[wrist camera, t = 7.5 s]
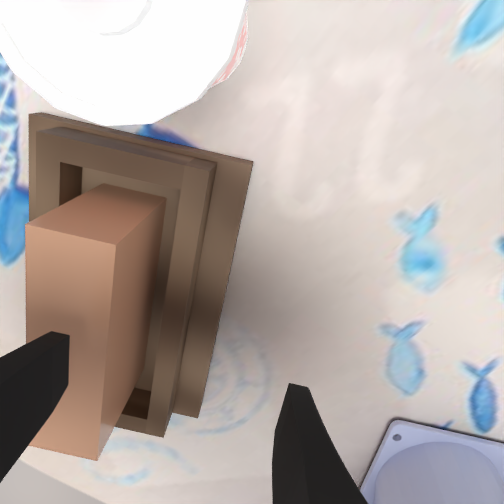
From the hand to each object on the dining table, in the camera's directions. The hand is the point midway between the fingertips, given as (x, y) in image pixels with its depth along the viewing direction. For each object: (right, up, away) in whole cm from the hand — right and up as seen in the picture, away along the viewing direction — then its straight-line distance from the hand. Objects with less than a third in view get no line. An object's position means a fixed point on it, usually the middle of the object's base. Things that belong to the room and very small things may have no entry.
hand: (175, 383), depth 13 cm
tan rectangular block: (-4, +3, +8) cm, 9 cm away
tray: (-4, +3, +9) cm, 10 cm away
